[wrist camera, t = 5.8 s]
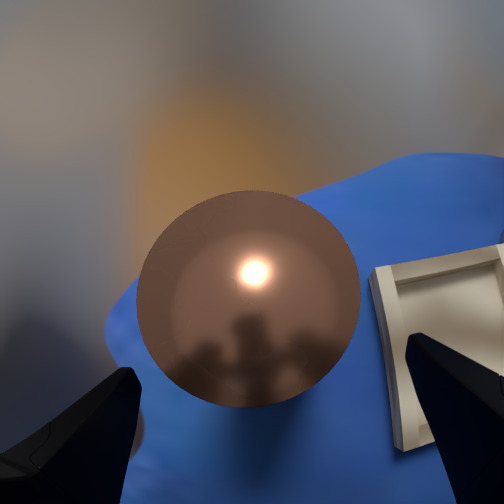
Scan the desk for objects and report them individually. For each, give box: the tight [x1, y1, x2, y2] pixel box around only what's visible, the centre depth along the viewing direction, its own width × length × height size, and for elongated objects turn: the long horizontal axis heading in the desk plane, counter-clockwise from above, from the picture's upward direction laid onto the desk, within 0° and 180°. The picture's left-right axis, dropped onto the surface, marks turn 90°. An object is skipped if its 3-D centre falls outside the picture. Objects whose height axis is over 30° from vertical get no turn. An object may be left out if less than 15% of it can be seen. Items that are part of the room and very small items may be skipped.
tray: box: [368, 243, 504, 452], centre depth 15 cm, size 11×11×2 cm
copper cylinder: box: [136, 191, 361, 408], centre depth 12 cm, size 5×5×12 cm
